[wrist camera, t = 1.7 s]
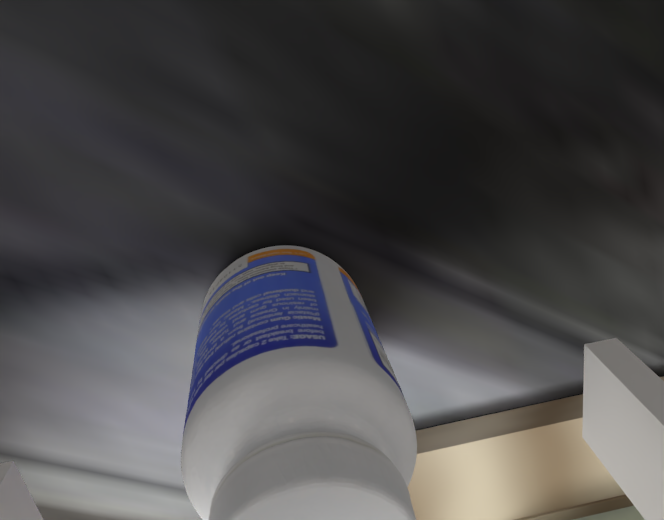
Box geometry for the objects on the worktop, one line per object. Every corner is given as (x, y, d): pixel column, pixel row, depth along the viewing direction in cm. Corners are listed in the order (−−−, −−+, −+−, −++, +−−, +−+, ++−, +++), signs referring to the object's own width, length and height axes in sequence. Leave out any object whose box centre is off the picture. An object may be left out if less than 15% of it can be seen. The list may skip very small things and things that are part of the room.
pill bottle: (175, 349, 19) (110, 634, 10) (246, 211, 18) (240, 408, 9) (317, 403, 21) (365, 690, 12) (393, 281, 19) (513, 506, 10)
